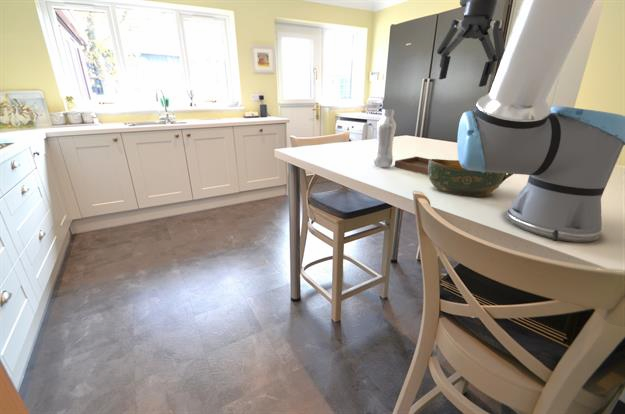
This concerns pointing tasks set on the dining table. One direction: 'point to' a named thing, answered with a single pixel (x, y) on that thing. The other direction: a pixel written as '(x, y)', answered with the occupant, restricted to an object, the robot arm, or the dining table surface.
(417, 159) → the tray
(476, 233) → the dining table surface
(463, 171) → the green patterned bowl
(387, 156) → the plastic bottle
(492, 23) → the robot arm
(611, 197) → the dining table surface
